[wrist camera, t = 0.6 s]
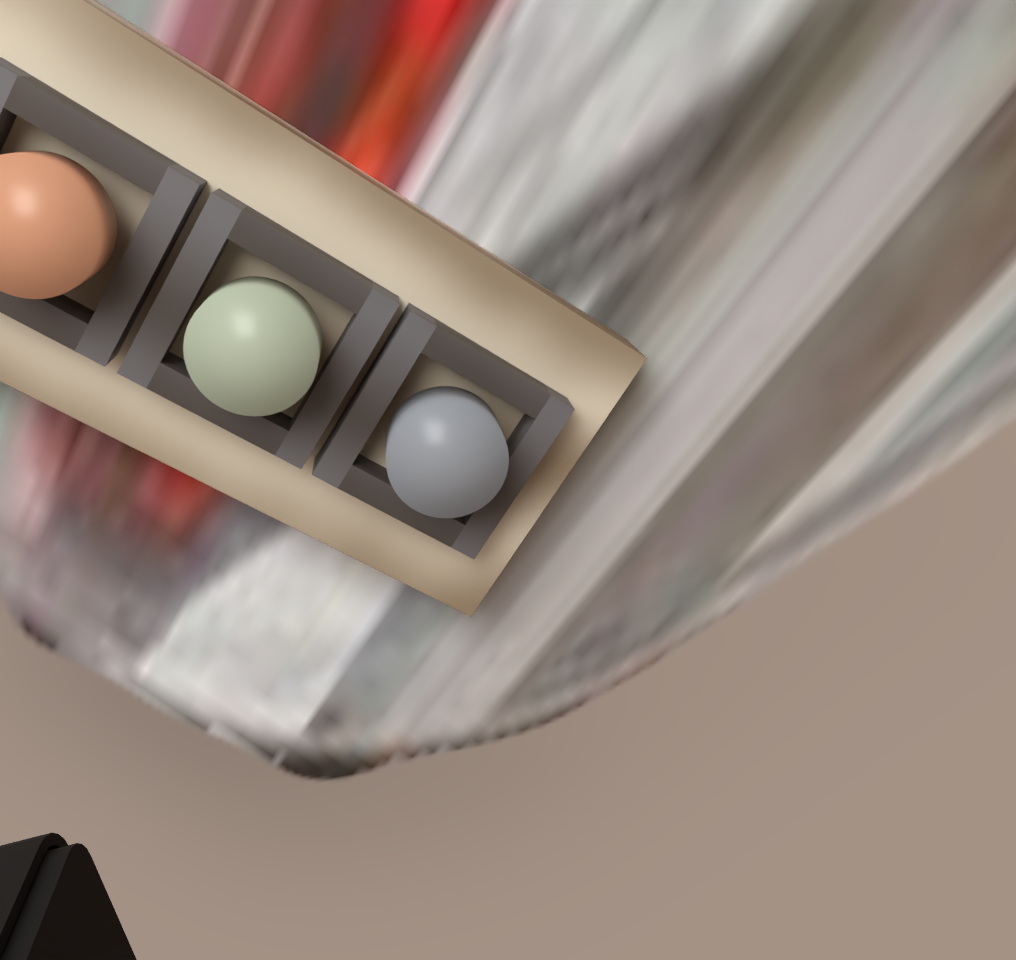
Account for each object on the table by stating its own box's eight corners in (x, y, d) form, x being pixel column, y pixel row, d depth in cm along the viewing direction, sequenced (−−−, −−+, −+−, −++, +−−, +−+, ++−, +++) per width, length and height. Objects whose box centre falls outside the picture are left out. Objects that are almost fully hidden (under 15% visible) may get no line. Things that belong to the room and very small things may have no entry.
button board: (17, -49, 30) (-40, -74, 26) (626, 339, 37) (658, 369, 33) (-127, 278, 33) (-199, 303, 29) (464, 581, 40) (474, 636, 36)
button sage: (230, 252, 30) (221, 261, 28) (344, 318, 31) (342, 331, 29) (173, 359, 31) (160, 375, 29) (285, 419, 32) (279, 438, 30)
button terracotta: (9, 122, 28) (-17, 123, 26) (140, 198, 29) (123, 205, 27) (-46, 242, 29) (-75, 251, 27) (83, 311, 30) (63, 324, 28)
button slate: (424, 364, 32) (427, 380, 30) (523, 422, 33) (532, 441, 31) (363, 461, 33) (363, 483, 31) (462, 514, 34) (467, 538, 32)
